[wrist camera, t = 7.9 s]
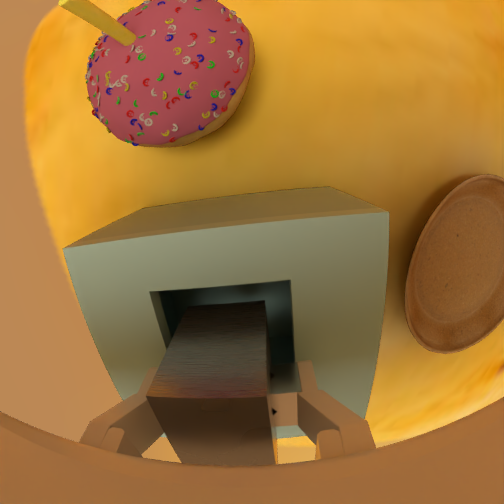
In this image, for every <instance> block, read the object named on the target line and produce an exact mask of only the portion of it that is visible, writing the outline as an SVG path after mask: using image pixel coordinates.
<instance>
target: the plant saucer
mask: <svg viewBox="0 0 504 504" xmlns="http://www.w3.org/2000/svg"><path fill="white" fill-rule="evenodd" d="M405 313H406V319H407V323H408V326H409V329H410V331H411V333H412V335H413V336H414V338H415V339H416V340H417V341H418V343H419V344H420V345H422V346H423V347H424V348H426V349H427V350H429V351H432V352H436V353H443V354H447V353H454V352H459V351H462V350H464V349H467V348H469V347H471V346H473V345H475V344H476V343H478V342H480V341H481V340H482V339H484V338H485V337H486V336H488V335H489V334H490V333H491V332H492V331H493V330H494V329H495V328H496V327H497V326H498V325H499V324H500V323H501V322H502V320H503V319H504V179H503V178H501V177H499V176H496V175H488V174H487V175H479V176H475V177H472V178H470V179H468V180H466V181H464V182H462V183H461V184H459V185H458V186H457V187H455V188H454V189H453V190H452V191H451V192H450V193H449V194H448V195H447V196H446V197H445V198H444V199H443V200H442V201H441V203H440V204H439V205H438V206H437V208H436V209H435V210H434V212H433V213H432V215H431V216H430V218H429V219H428V221H427V223H426V224H425V226H424V228H423V230H422V232H421V234H420V236H419V239H418V241H417V243H416V246H415V249H414V252H413V255H412V258H411V261H410V265H409V269H408V274H407V279H406V287H405Z"/></svg>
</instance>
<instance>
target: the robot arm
mask: <svg viewBox="0 0 504 504" xmlns="http://www.w3.org/2000/svg"><path fill="white" fill-rule="evenodd" d="M158 368H159V367H151V368H149V370H148V372H147V374H146V376H145V378H144V380H143V382H142V384H141V386H140V388H139V390H138V393H137V394H133V395H131V396H129V397H128V398H126V399H125V400H123V401H122V402H120V403H119V404H117V405H116V406H114V407H112V408H111V409H109V410H108V411H106V412H105V413H103V414H101V415H100V416H98V417H97V418H95V419H93V420H92V421H90V423H89V424H88V426H87V428H86V430H85V432H84V434H83V436H82V437H81V439H80V442H79V443H78V442H75V441H72V440H69V439H66V438H62V437H60V436H57V435H54V434H51V433H49V432H46V431H44V430H41V429H38V428H36V427H34V426H31V425H29V424H26V423H24V422H22V421H19V420H17V419H15V418H13V417H11V416H9V415H7V414H5V413H2V412H1V411H0V504H504V397H502V398H501V399H499V400H497V401H495V402H494V403H492V404H490V405H488V406H486V407H484V408H482V409H480V410H478V411H476V412H474V413H472V414H470V415H468V416H466V417H464V418H461V419H459V420H457V421H455V422H452V423H450V424H448V425H445V426H443V427H440V428H438V429H435V430H432V431H430V432H427V433H424V434H422V435H419V436H416V437H413V438H410V439H407V440H403V441H400V442H397V443H394V444H390V445H387V446H383V447H379V448H376V447H375V443H374V440H373V437H372V434H371V431H370V428H369V425H368V422H367V421H366V420H364V419H363V418H361V417H360V416H359V415H357V414H356V413H354V412H353V411H351V410H350V409H348V408H347V407H346V406H344V405H343V404H341V403H340V402H339V401H337V400H336V399H334V398H333V397H332V396H330V395H329V394H328V393H326V392H325V391H324V390H318V387H317V383H316V378H315V374H314V369H313V365H312V361H311V360H305V361H298V362H292V363H282V364H272V365H270V377H271V380H270V390H271V402H272V408H273V418H274V427H279V426H293V425H298V427H299V428H300V429H301V430H302V431H303V432H304V433H305V434H306V435H307V436H308V437H309V439H310V440H311V441H312V442H313V443H314V444H315V445H316V455H315V460H313V461H305V462H297V463H286V464H273V465H251V466H222V465H200V464H187V463H177V462H169V461H161V460H154V459H147V458H143V457H142V455H141V454H142V453H143V452H144V451H145V450H147V449H148V447H150V446H151V445H152V444H153V443H154V442H155V441H156V440H157V439H158V438H159V437H160V436H161V435H162V434H163V433H164V431H163V429H162V427H161V426H160V424H159V422H158V420H157V418H156V416H155V414H154V412H153V410H152V408H151V406H150V404H149V402H148V400H147V398H146V394H147V391H148V389H149V387H150V385H151V383H152V381H153V378H154V376H155V374H156V372H157V370H158Z"/></svg>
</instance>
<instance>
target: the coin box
mask: <svg viewBox="0 0 504 504" xmlns="http://www.w3.org/2000/svg"><path fill="white" fill-rule="evenodd" d="M63 252H64V256H65V259H66V263H67V266H68V270H69V273H70V277H71V280H72V283H73V286H74V289H75V292H76V295H77V298H78V301H79V304H80V307H81V310H82V312H83V315H84V318H85V320H86V323H87V325H88V328H89V330H90V333H91V335H92V338H93V340H94V343H95V345H96V347H97V349H98V352H99V354H100V356H101V358H102V360H103V363H104V365H105V367H106V369H107V371H108V373H109V375H110V377H111V379H112V381H113V383H114V385H115V387H116V389H117V391H118V393H119V395H120V396H121V398H122V400H125V399H126V398H128V397H129V396H131V395H133V394H137V393H138V390H139V388H140V386H141V384H142V382H143V380H144V378H145V376H146V374H147V372H148V370H149V368H151V367H159V365H160V363H161V361H162V359H163V357H164V355H165V353H166V351H167V348H168V346H169V344H170V342H171V340H172V338H173V336H174V334H175V332H176V330H177V328H178V325H179V323H180V321H181V319H182V317H183V315H184V313H185V311H186V309H187V307H188V306H198V305H212V304H225V303H238V302H249V301H260V300H265V305H266V314H267V323H268V332H269V342H270V351H271V360H272V364H282V363H292V362H298V361H305V360H311V361H312V365H313V369H314V374H315V378H316V383H317V387H318V390H324V391H325V392H326V393H328V394H329V395H330V396H332V397H333V398H334V399H336V400H337V401H339V402H340V403H341V404H343V405H344V406H346V407H347V408H348V409H350V410H351V411H353V412H354V413H356V414H357V415H359V416H360V417H361V418H363V419H365V415H366V411H367V407H368V403H369V398H370V394H371V389H372V384H373V380H374V374H375V369H376V364H377V358H378V352H379V346H380V339H381V332H382V324H383V316H384V307H385V297H386V286H387V272H388V252H389V212H388V211H386V210H384V209H382V208H379V207H377V206H375V205H373V204H370V203H368V202H366V201H363V200H361V199H359V198H356V197H354V196H351V195H349V194H346V193H344V192H341V191H339V190H336V189H334V188H331V187H315V188H303V189H291V190H280V191H270V192H260V193H251V194H242V195H233V196H225V197H217V198H209V199H202V200H195V201H188V202H181V203H174V204H167V205H161V206H155V207H149V208H143V209H141V210H138V211H136V212H134V213H132V214H130V215H128V216H126V217H124V218H121V219H119V220H117V221H115V222H113V223H111V224H109V225H107V226H105V227H103V228H101V229H99V230H97V231H95V232H93V233H91V234H89V235H87V236H85V237H83V238H82V239H80V240H78V241H76V242H74V243H72V244H70V245H68V246H67V247H65V248H63ZM276 429H277V439H278V438H289V437H299V436H307V435H306V434H305V433H304V432H303V431H302V430H301V429H300V428H299V427H298V425H293V426H279V427H276ZM160 437H166V435H165V433H163V434H162V435H161V436H160Z"/></svg>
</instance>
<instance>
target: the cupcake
mask: <svg viewBox="0 0 504 504" xmlns="http://www.w3.org/2000/svg"><path fill="white" fill-rule="evenodd" d="M217 1H218V0H216V1H215V0H150V1H148V0H147V1H144V3H142V4H141V5H139V6H138V7H136V8H134V7H132V8H130V9H129V10H128V13H123V14H122V16H120V17H118V18H117V21H116V20H115V19H114V18H112V17H111V16H110V15H108V14H107V13H105V12H104V11H103V10H101V9H100V8H98V7H97V6H95V5H94V4H93V3H91V2H90V1H88V0H59V3H58V4H59V6H61V7H63V8H64V9H66V10H68V11H70V12H72V13H73V14H75V15H77V16H78V17H80V18H82V19H83V20H85V21H87V22H88V23H90V24H92V25H93V26H95V27H97V28H98V29H100V30H101V31H102V34H103V36H100V37H99V38H98V40H100V41H97V42H96V43H95V45H97V46H96V47H94V48H93V53H92V54H91V55H90V56H89V57H88V59H89V62H88V63H87V74H86V75H85V79H87V81H86V83H87V90H88V94H89V97H87V99H88V100H89V101H90V102H91V105H92V106H93V109H94V110H92V114H93V115H94V116H96V117H97V118H98V119H99V120H100V122H102V123H103V124H104V125H105V126H106V127H107V131H108V132H109V133H111V132H112V133H113V134H114V135H115V136H116V137H117V138H118V139H120V140H122V141H125V142H127V143H132V144H133V145H134V146H138V145H139V146H144V147H177V146H184V145H187V144H190V143H192V142H194V141H196V140H197V139H199V138H201V137H204V136H206V135H208V134H210V133H212V132H214V131H215V130H217V129H219V128H220V127H221V126H223V125H224V124H225V123H226V121H227V120H228V119H229V118H230V117H231V116H232V115H233V113H234V112H235V110H236V109H237V107H238V105H239V104H240V102H241V100H242V98H243V95H244V93H245V90H246V87H247V84H248V81H249V77H250V74H251V71H252V68H253V66H254V62H255V51H254V43H253V39H252V36H251V34H250V32H249V30H248V29H247V27H246V26H245V25H244V24H243V23H242V20H241V19H240V18H238V17H237V16H236V15H235V14H236V12H235V11H233V10H229V9H228V8H226V7H225V6H224V5H222V4H221V3H219V2H217ZM131 9H132V10H131ZM232 12H234V13H232ZM124 14H125V15H124ZM103 32H104V33H103ZM94 49H95V50H94ZM90 57H91V58H90ZM94 111H95V112H94ZM93 112H94V113H95V114H94V113H93ZM109 130H110V131H109Z"/></svg>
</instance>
